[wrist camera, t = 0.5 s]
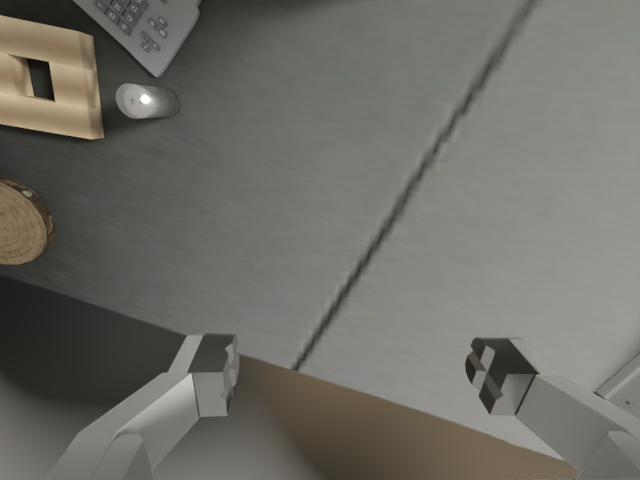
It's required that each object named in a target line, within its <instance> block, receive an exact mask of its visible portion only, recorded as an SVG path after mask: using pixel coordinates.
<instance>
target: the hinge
mask: <svg viewBox="0 0 640 480" xmlns="http://www.w3.org/2000/svg"><path fill="white" fill-rule="evenodd" d="M596 392H597V393H598V394H599V395H601V396H602V397H603V398H605V399H606V400H608V401H610V402H611V403H612V404H614V405H615V406H617V407H619V408H620V409H622V410H624V411H626V412H627V413H629V414H631V415H633V416H635V417H636V418H638V419H640V353H639V354H638V355H637V356H636V357H635V358H634V359H633V360H631V361H630V362H629V363H628V364H627V365H626V366H625V367H623V368H622V369H621V370H620V371H619V372H618V373H617V374H615V375H614V376H613V377H612V378H611V379H610V380H609V381H607V382H606V383H605V384H604V385H603V386H602V387H601V388H599V389H598V390H597V391H596Z"/></svg>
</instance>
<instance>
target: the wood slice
mask: <svg viewBox="0 0 640 480" xmlns="http://www.w3.org/2000/svg"><path fill="white" fill-rule="evenodd" d="M55 238H56V225H55V222H54V219H53V216H52V213H51V211H50V210H49V209H48V207H47V206H46V204H45V203H44V202H43V200H42V199H41V198H40V197H39V196H38V195H36V194H35V193H34V192H33V191H32V190H31V189H30V188H28V187H26V186H25V185H23V184H21V183H19V182H18V181H16V180H14V179H11V178H8V177H4V176H1V175H0V264H16V265H18V264H22V263H25V262H28V261H31V260H33V259H35V258H37V257H38V256H40V255H42V254H43V253H45V252H46V251H47V250H48V249H50V248H51V247H52V244H53V242H54V240H55Z"/></svg>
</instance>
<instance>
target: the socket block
mask: <svg viewBox="0 0 640 480" xmlns="http://www.w3.org/2000/svg"><path fill="white" fill-rule="evenodd" d="M27 58H31V59H37V60H42V61H47V62H49V65H50V72H51V78H52V84H53V90H54V96H55V100H51V99H46V98H40V97H35V96H34V94H33V88H32V83H31V78H30V72H29V67H28V62H27ZM0 124H3V125H9V126H15V127H21V128H27V129H33V130H39V131H45V132H51V133H56V134H62V135H68V136H74V137H80V138H86V139H99V138H104V133H103V124H102V114H101V105H100V96H99V87H98V77H97V68H96V59H95V49H94V40H93V36H91V35H88V34H85V33H82V32H79V31H74V30H69V29H64V28H59V27H55V26H50V25H45V24H40V23H35V22H30V21H25V20H21V19H16V18H11V17H6V16H1V15H0Z"/></svg>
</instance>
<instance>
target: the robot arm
mask: <svg viewBox="0 0 640 480" xmlns="http://www.w3.org/2000/svg"><path fill="white" fill-rule="evenodd" d="M237 345H238V339H237V335H236V334H210V333H206V334H201V333H190V334H189V335H188V336H187V337H186V339H185V340H184V342H183V344H182V346H181V348H180V350H179V352H178V354H177V356H176V358H175V359H174V361H173V363H172V365H171V367H170V369H169V371H168V373H162V374H160V375H159V376H158V377H156V378H155V379H153V380H152V381H151V382H149V383H148V384H146V385H145V386H144V387H142V388H141V389H139V390H138V391H137V392H135V393H134V394H132V395H131V396H130V397H128V398H127V399H125V400H124V401H123V402H121V403H120V404H118V405H117V406H116V407H114V408H113V409H111V410H110V411H108V412H107V413H106V414H104V415H103V416H101V417H100V418H99V419H97V420H96V421H94V422H93V423H92V424H91V425H89V426H87V427H86V428H85V429H83V430H82V431H80V432H79V433H78V435H77V436H76V437H75V439H74V440H73V442H72V443H71V444H70V446H69V447H68V449H67V450H66V452H65V453H64V454H63V456H62V457H61V459H60V460H59V462H58V463H57V464H56V466H55V467H54V469H53V470H52V472H51V473H50V474H49V476H48V477H47V478H46V480H154V476H153V473H152V470H153V469H154V468H155V467H156V466H157V465H158V464H159V463H160V461H161V460H162V459H163V458H164V457H165V456H166V455H167V454H168V453H169V451H170V450H171V449H172V448H173V447H174V446H175V445H176V444H177V442H178V441H179V440H180V439H181V438H182V437H183V436H184V435H185V434H186V432H187V431H188V430H189V429H190V428H191V427H192V426H193V425H194V423H195V422H196V421H197V420H198V419H199V417H205V416H227V415H228V412H229V408H230V404H231V400H232V397H233V394H232V387H233V386H234V385H235V384H236V381H237V376H238V370H239V354H238V353H237V352H236V349H237ZM471 348H472V350H473V352H471V353H470V354H469V355H468V356H467V359H466V362H465V368H466V374H467V377H468V379H469V381H470V382H471V384H472V385H473V386H474V387H476V388H477V389H478V390H480V392H479V398H480V399H481V401H482V403H483V404H484V406H485V408H486V409H487V411H488V413H489V414H490V415H508V416H516V418H517V419H518V420H520V421H521V422H522V423H523V424H524V425H525V426H527V427H528V428H529V429H530V430H531V431H532V432H533V433H535V434H536V435H537V436H538V437H539V438H540V439H542V440H543V441H544V442H545V443H546V444H547V445H549V446H550V447H551V448H552V449H553V450H554V451H556V452H557V453H558V454H559V455H560V456H561V457H563V458H564V459H565V460H566V461H567V462H568V463H569V464H571V465H572V466H573V467H574V468H575V469H576V470H578V471H579V472H580V473H579V474H578V476H577V477H576V479H532V480H640V419H638V418H636V417H635V416H633V415H631V414H629V413H627V412H626V411H624V410H622V409H620V408H619V407H617V406H615V405H613V404H611V403H610V402H608V401H606V400H604V399H603V398H601V397H599V396H597V395H595V394H594V393H592V392H590V391H588V390H587V389H585V388H583V387H581V386H579V385H578V384H576V383H574V382H572V381H571V380H569V379H567V378H565V377H563V376H562V375H556V374H555V373H554V372H553V371H552V370H551V369H550V368H549V367H548V366H547V365H546V363H545V362H544V361H543V360H542V359H541V358H540V357H539V356H538V355H537V354H536V353H535V352H534V351H533V350H532V349H531V347H530V346H529V345H528V344H527V343H526V342H525V341H524V340H523V339H521V338H519V337H504V338H490V337H476V338H475V339H474V340H473V341H472V344H471ZM529 480H531V479H529Z"/></svg>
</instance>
